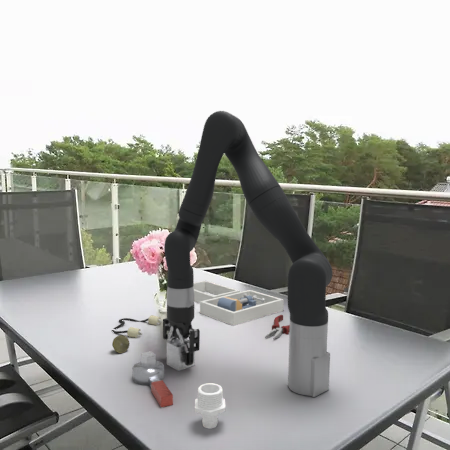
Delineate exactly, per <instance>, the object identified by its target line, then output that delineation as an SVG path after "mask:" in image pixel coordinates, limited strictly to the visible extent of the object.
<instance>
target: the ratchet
mask: <svg viewBox="0 0 450 450" xmlns="http://www.w3.org/2000/svg"><path fill="white" fill-rule="evenodd" d="M140 356H141V358H140V360H141V361H138V362H136V363H135V364H134V365H133V366H132V381H133V382H134V383H135V384H137V385H141V386H149V387H150V389H151V391H150V392H151V393H152V395H153V397H154V398H155V401H156V402H157V404H158V405H159V406H160V408H165V407H170V406H173V405H174V395H173V393H172V391H171V390H170V389H169V387H168V386H167V384H166V383H165V382H164V379H165V364H164V363H163V362H162V361H158V360H156V357H157V356H156V353H154V352H153V351H151V350H149V351H145V352H142V353H140Z"/></svg>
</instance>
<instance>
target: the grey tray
mask: <svg viewBox="0 0 450 450" xmlns="http://www.w3.org/2000/svg"><path fill="white" fill-rule="evenodd" d="M238 292H241V290H239V289H236V288H232V287H229V286H225V285H222V284H219V283H214V282H212V281H208V280H201V281H196V282H194V303H198V304H200V301H204V300H209V299H213V298H217V297H221V296H226V295H230V294H234V293H238Z"/></svg>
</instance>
